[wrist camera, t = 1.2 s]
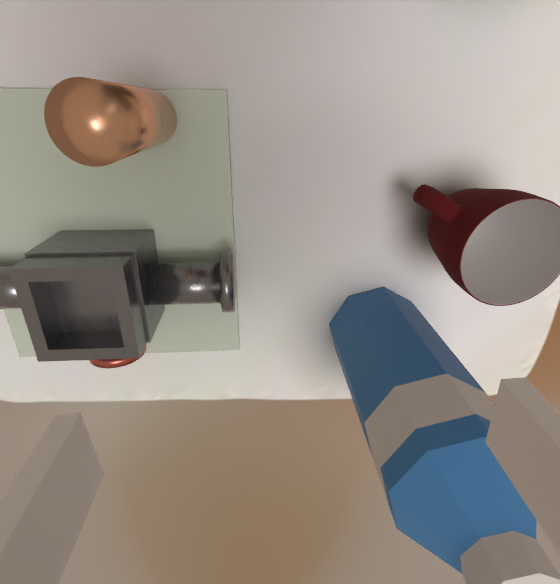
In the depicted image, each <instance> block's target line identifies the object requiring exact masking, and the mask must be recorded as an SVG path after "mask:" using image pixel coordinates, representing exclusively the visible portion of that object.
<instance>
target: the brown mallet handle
mask: <svg viewBox="0 0 560 584" xmlns="http://www.w3.org/2000/svg"><path fill="white" fill-rule="evenodd" d="M44 119H45V125H46V128H47V131H48V133H49V136H50V137H51V139H52V141H53V142H54V144H55V145H56V146H57V148H58V149H59V150H60V151H61V152H62V153H63V154H64V155H66V156H67V157H68V158H70V159H71V160H73V161H75V162H77V163H79V164H82V165H85V166H90V167H102V166H106V165H109V164H112V163H114V162H117V161H119V160H122V159H124V158H127V157H129V156H132V155H134V154H137V153H139V152H142V151H144V150H147V149H149V148H152V147H154V146H157V145H160V144H162V143H164V142H166V141H168V140H169V139H170V138H171V137H172V136H173V134H174V132H175V130H176V126H177V115H176V111H175V109H174V106H173V105H172V103H171V102H170V100H169V99H168V98H167V97H166V96H165V95H163V94H162V93H160V92H158V91H156V90H152V89H146V88H141V87H135V86H129V85H124V84H118V83H112V82H107V81H101V80H95V79H90V78H83V77H74V78H69V79H66V80H63V81H61V82H60V83H58V84H57V85H56V86H55V87H54V88H53V89H52V90H51V91H50V93H49V95H48V97H47V99H46V102H45V107H44Z"/></svg>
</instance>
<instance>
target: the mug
mask: <svg viewBox="0 0 560 584" xmlns="http://www.w3.org/2000/svg"><path fill="white" fill-rule="evenodd" d="M413 200H414V201H415V202H416V203H417V204H419V205H420V206H422V207H424V208H426V209H427V210H429V211H431V212H432V214H431V217H430V220H429V224H428V238H429V242H430V245H431V247H432V249H433V251H434V252H435V254H436V256H437V257H438V259H439V260H440V262H441V264H442V265H443V267H444V268H445V270H446V272H447V273H448V275H449V276H450V277H451V278H452V279H453V281H454V282H455V283H456V284H458V285H459V286H460V287H461V288H462V289H463V290H464V291H466V292H467V293H468V294H470V295H471V296H472V297H474V298H475V299H477V300H478V301H480V302H483V303H485V304H489V305H495V306H506V305H512V304H517V303H520V302H523V301H525V300H528V299H530V298H532V297H534V296H536V295H537V294H539V293H540V292H542V291H543V290H544V289H546V288H547V287H548V286H549V285H550V284H551V283H552V282H553V281H554V280H555V279H556V278H557V277H558V276H559V274H560V206H558V205H557V204H555V203H554V202H552V201H550V200H547V199H544V198H541V197H539V196H536V195H533V194H530V193H526V192H522V191H517V190H509V189H477V188H475V189H466V190H462V191H458V192H456V193H454V194H452V195H450V196H448V197H447V196H446V195H444V194H443V193H441V192H439V191H438V190H436V189H434V188H432V187H430V186H428V185H421V186H420V187H418V188H417V189H416V191H415V192H414V194H413Z"/></svg>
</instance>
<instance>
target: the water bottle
mask: <svg viewBox="0 0 560 584" xmlns="http://www.w3.org/2000/svg"><path fill="white" fill-rule="evenodd" d="M329 324H330V328H331V332H332V336H333V340H334V344H335V348H336V352H337V355H338V358H339V361H340V364H341V366H342V369H343V372H344V375H345V378H346V381H347V384H348V387H349V390H350V393H351V396H352V399H353V401H354V404H355V407H356V410H357V413H358V416H359V419H360V422H361V425H362V428H363V431H364V434H365V437H366V439H367V443H368V445H369V448H370V451H371V454H372V457H373V460H374V463H375V466H376V469H377V472H378V475H379V478H380V480H381V483H382V486H383V489H384V492H385V495H386V498H387V501H388V504H389V507H390V510H391V513H392V516H393V519H394V521H395V524H396V527H397V529H398V530H400V531H401V532H403V533H404V534H406V535H407V536H409V537H410V538H411V539H413V540H414V541H416V542H417V543H419V544H420V545H422V546H423V547H424V548H426V549H427V550H429V551H430V552H432V553H433V554H435V555H436V556H438V557H439V558H440V559H442V560H443V561H445V562H446V563H448V564H449V565H451V566H452V567H453V568H455V569H456V570H458V571H459V572H461V573H462V574H463V577H464V579H465V581H466V583H467V584H560V575H559V573H558V572H557V570H556V569H555V567H554V566H553V564H552V562H551V561H550V560H549V558H548V556H547V555H546V553H545V552H544V550H543V549H542V547H541V546H540V544H539V543H538V541H537V540H536V519H535V517H534V516H533V514H532V513H531V511H530V510H529V508H528V507H527V505H526V504H525V502H524V501H523V499H522V497H521V496H520V494H519V493H518V491H517V490H516V488H515V487H514V485H513V484H512V482H511V481H510V479H509V478H508V476H507V475H506V473H505V472H504V470H503V469H502V467H501V465H500V464H499V462H498V461H497V459H496V458H495V456H494V455H493V453H492V452H491V450H490V449H489V447H488V446H487V444H486V443H485V441H486V438H487V434H488V430H489V426H490V422H491V418H492V414H493V410H494V406H495V404H494V402H493V401H492V400H491V399H490V398H489V396H488V395H487V394H486V393H485V391H484V390H483V389H482V388H481V387H480V385H479V384H478V383H477V382H476V380H475V379H474V378H473V377H472V375H471V374H470V373H469V372H468V371H467V369H466V368H465V367H464V366H463V364H462V363H461V362H460V361H459V360H458V358H457V357H456V356H455V355H454V353H453V352H452V351H451V350H450V349H449V347H448V346H447V345H446V344H445V342H444V341H443V340H442V339H441V337H440V336H439V335H438V334H437V333H436V331H435V330H434V329H433V328H432V326H431V325H430V324H429V323H428V322H427V320H426V319H425V318H424V317H423V315H422V314H421V313H420V312H419V311H418V309H417V308H416V307H415V306H414V304H413V303H412V302H411V301H409V300H407V299H405V298H403V297H402V296H400V295H398V294H396V293H394V292H392V291H390V290H389V289H387V288H385V287H381V288H377V289H373V290H370V291H366V292H362V293H359V294H355V295H351V296H348V298H347V299H346V301H345V302H344V304H343V305H342V306H341V308H340V309H339V311H338V312H337V313H336V315H335V316H334V318H333V319H332V321H331V322H330V323H329Z"/></svg>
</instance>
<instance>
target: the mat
mask: <svg viewBox="0 0 560 584" xmlns="http://www.w3.org/2000/svg"><path fill="white" fill-rule="evenodd" d="M51 90H52V89H49V88H0V266H14V265H15V264H17V263H18V262H20V261H21V260H23V259H24V258H25V255H24V254H25V253H26V252H28V251H29V250H31V249H32V248H34V247H36V246H37V245H39V244H40V243H42V242H43V241H45V240H47V239H48V238H50V237H51V236H53V235H54V234H56V233H57V232H59V231H61V230H124V229H154V234H155V241H156V248H157V255H158V262H159V263H186V262H220V254H221V253H223V252H233V253H234V261H235V247H234V227H233V206H232V186H231V166H230V146H229V126H228V106H227V90H221V89H152V90H156V91H158V92H160V93H162V94H163V95H165V96H166V97H167V98H168V99H169V100H170V102H171V103H172V105H173V106H174V109H175V111H176V115H177V126H176V130H175V132H174V134H173V136H172V137H171V138H170V139H169V140H168V141H166V142H164V143H162V144H160V145H157V146H154V147H152V148H149V149H147V150H144V151H142V152H139V153H137V154H134V155H132V156H129V157H127V158H124V159H122V160H119V161H117V162H114V163H112V164H109V165H106V166H102V167H90V166H85V165H82V164H79V163H77V162H75V161H73V160H71V159H70V158H68V157H67V156H66V155H64V154H63V153H62V152H61V151H60V150H59V149H58V148H57V146H56V145H55V144H54V142H53V141H52V139H51V137H50V136H49V133H48V131H47V128H46V125H45V119H44V107H45V102H46V99H47V97H48V95H49V93H50V91H51ZM235 278H236V267H235ZM4 312H5V315H6V318H7V320H8V323H9V326H10V329H11V332H12V335H13V338H14V341H15V344H16V347H17V350H18V353H19V356H20V357H32V356H36V353H35V350H34V347H33V344H32V341H31V338H30V335H29V331H28V328H27V325H26V322H25V319H24V316H23V313H22V309H21V308H18V309H4ZM146 346H147V349H146V352H145V353H156V352H187V351H217V350H239V348H240V347H239V327H238V307H237V287H236V306H235V312H224V313H223V312H222V308H221V303H214V304H174V305H165V310H164V313H163V315H162V317H161V319H160V322H159V324H158V326H157V329H156V331H155V333H154V335H153V338H152V340H151V342H150V343H146Z"/></svg>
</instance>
